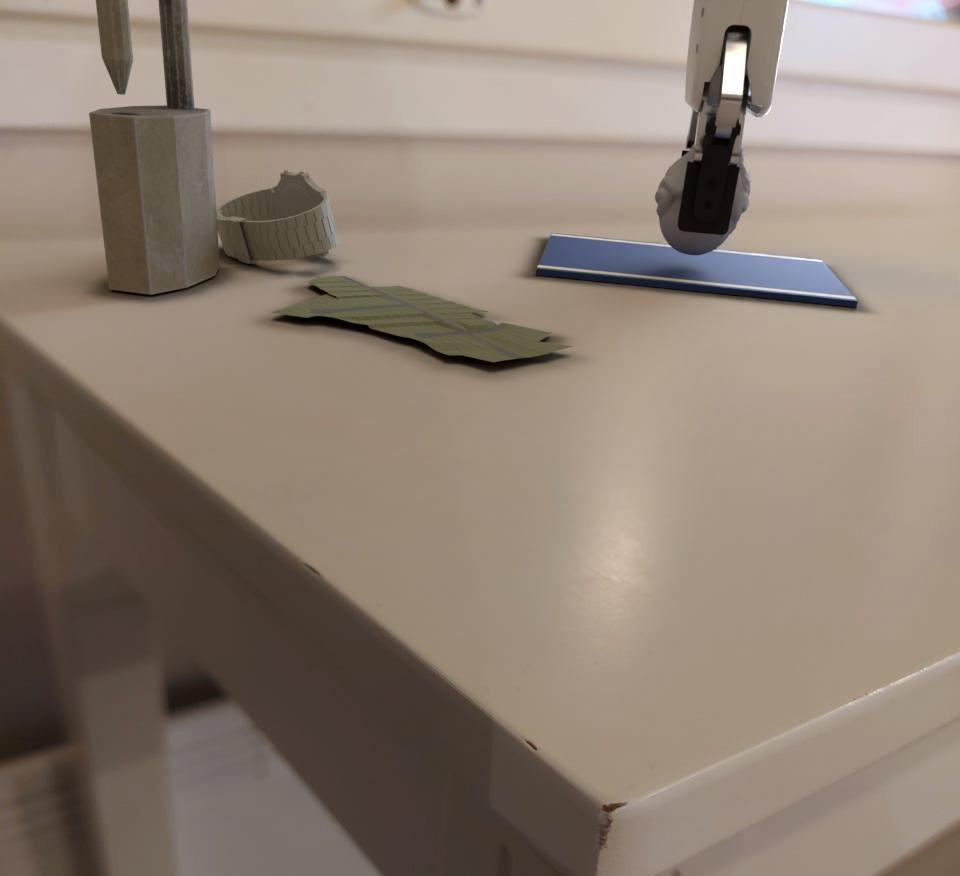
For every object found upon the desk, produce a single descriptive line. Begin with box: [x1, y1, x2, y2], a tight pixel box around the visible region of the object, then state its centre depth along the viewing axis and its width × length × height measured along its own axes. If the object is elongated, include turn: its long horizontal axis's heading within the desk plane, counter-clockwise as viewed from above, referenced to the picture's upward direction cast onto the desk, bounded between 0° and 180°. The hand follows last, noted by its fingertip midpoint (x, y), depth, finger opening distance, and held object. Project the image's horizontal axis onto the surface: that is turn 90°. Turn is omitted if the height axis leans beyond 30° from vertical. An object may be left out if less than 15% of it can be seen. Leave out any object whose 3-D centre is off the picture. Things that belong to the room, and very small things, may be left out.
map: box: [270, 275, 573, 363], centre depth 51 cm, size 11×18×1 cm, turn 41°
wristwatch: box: [216, 169, 340, 265], centre depth 61 cm, size 9×6×5 cm
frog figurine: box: [654, 144, 752, 255], centre depth 66 cm, size 6×7×7 cm
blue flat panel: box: [535, 232, 859, 308], centre depth 69 cm, size 20×14×1 cm
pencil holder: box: [88, 0, 221, 295], centre depth 52 cm, size 4×8×15 cm, turn 167°
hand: (698, 221), depth 67 cm, fingers closed on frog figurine, 6 cm apart
